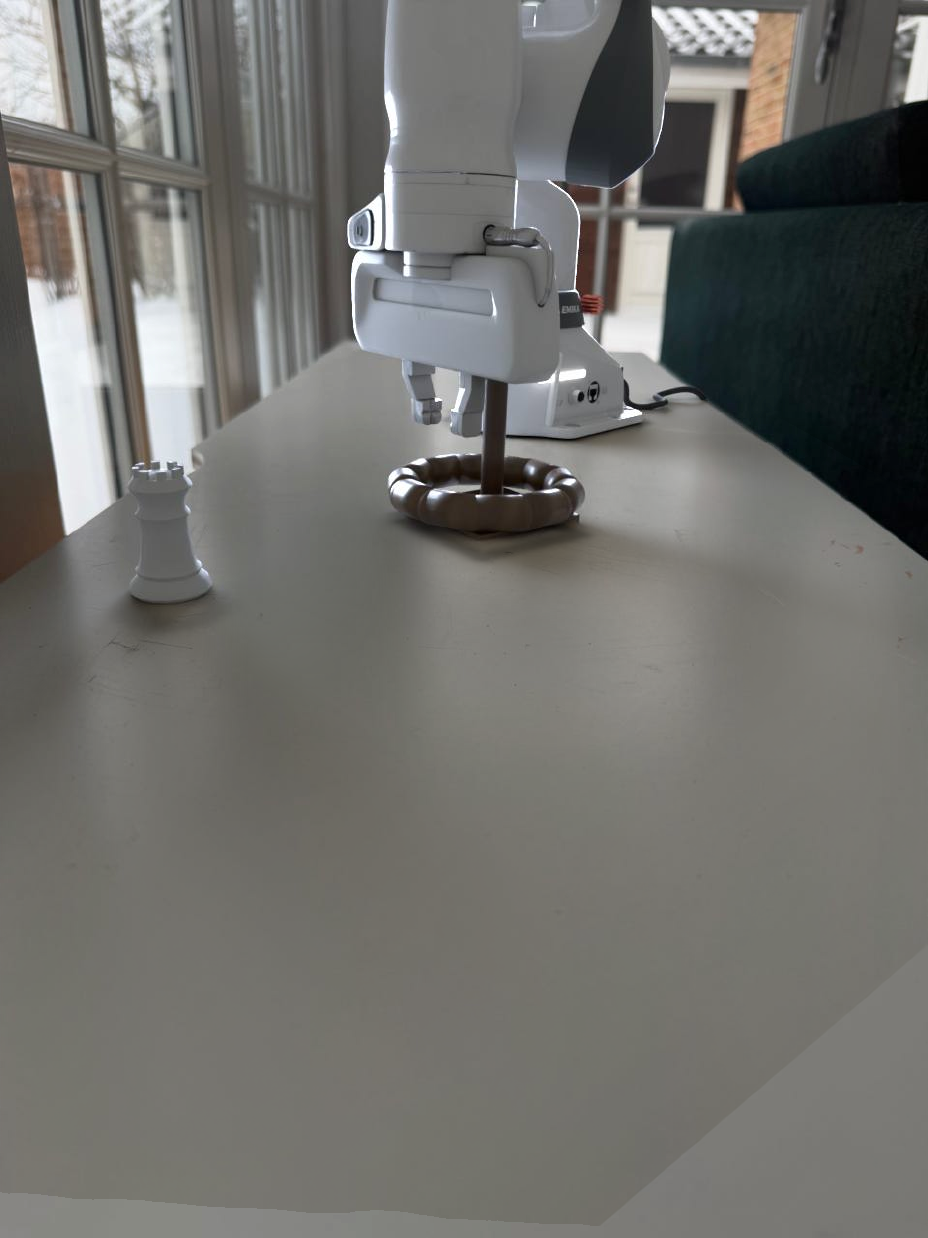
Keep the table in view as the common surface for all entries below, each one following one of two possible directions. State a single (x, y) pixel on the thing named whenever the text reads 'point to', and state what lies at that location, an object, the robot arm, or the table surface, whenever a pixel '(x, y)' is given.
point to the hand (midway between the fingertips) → (445, 429)
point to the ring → (541, 507)
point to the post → (495, 452)
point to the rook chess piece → (165, 537)
